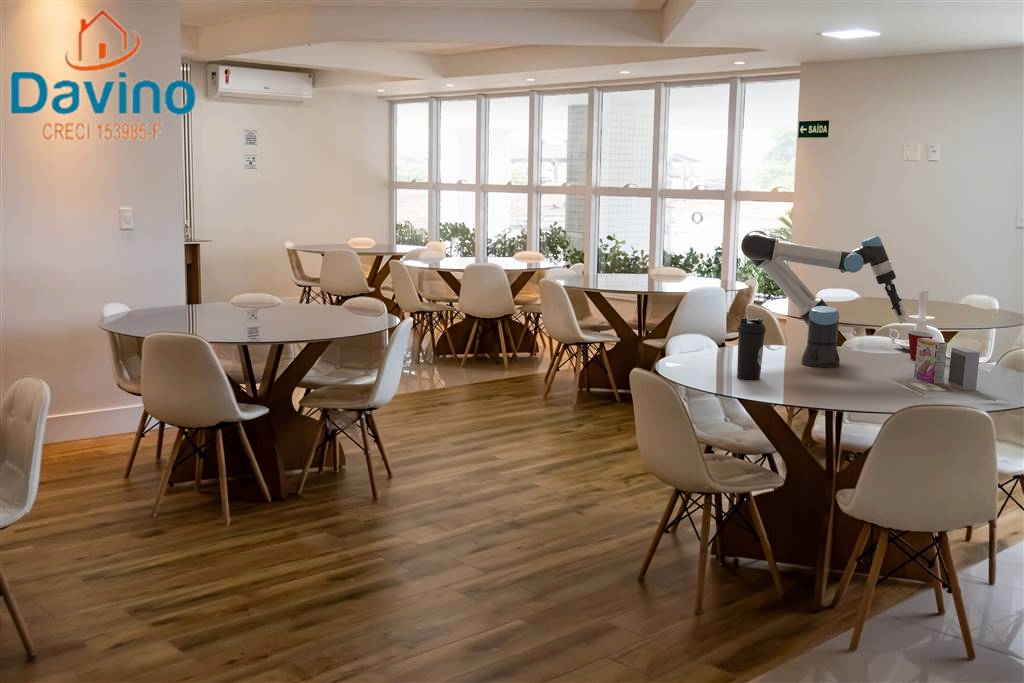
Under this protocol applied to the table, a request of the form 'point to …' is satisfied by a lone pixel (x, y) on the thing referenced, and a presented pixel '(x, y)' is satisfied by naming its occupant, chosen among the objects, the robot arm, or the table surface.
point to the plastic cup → (913, 341)
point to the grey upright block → (963, 368)
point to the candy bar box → (930, 360)
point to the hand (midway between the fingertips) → (903, 319)
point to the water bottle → (750, 349)
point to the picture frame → (935, 387)
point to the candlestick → (920, 319)
